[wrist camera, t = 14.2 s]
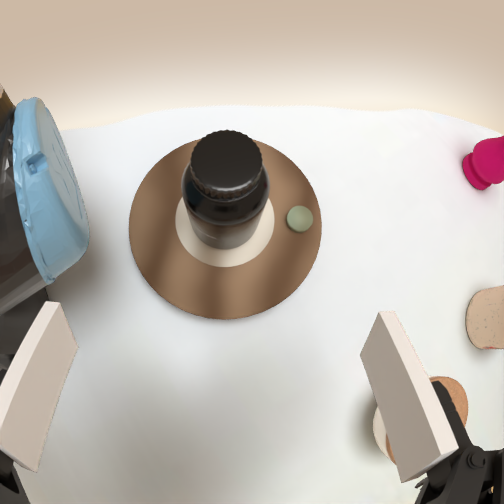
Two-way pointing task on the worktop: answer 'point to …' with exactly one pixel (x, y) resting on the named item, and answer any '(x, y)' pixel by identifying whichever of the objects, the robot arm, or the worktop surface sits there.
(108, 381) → the worktop surface
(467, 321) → the teacup with lid
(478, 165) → the pepper mill
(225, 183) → the supplement bottle
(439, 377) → the lidded jar
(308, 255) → the stand
